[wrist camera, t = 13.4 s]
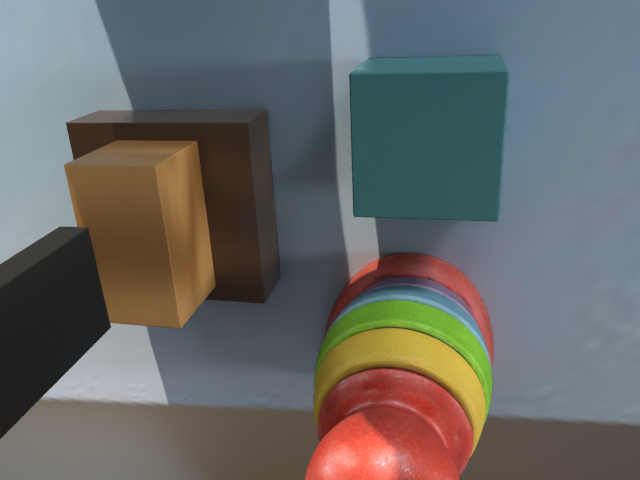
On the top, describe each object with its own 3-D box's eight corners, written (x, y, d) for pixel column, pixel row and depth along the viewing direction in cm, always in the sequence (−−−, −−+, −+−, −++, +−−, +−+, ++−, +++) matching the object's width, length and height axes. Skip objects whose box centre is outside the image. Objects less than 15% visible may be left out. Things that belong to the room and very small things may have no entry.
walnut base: (98, 110, 38) (65, 122, 34) (267, 109, 35) (247, 122, 32) (128, 269, 42) (101, 292, 39) (280, 278, 39) (264, 303, 36)
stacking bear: (323, 370, 42) (235, 613, 26) (333, 236, 37) (236, 427, 21) (483, 399, 40) (496, 682, 24) (512, 262, 36) (552, 492, 20)
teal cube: (368, 58, 33) (349, 73, 27) (501, 54, 31) (509, 70, 26) (370, 181, 35) (353, 217, 30) (493, 183, 34) (498, 221, 29)
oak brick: (115, 140, 34) (63, 164, 30) (197, 140, 33) (155, 165, 29) (141, 281, 38) (97, 322, 33) (216, 286, 37) (181, 329, 32)
